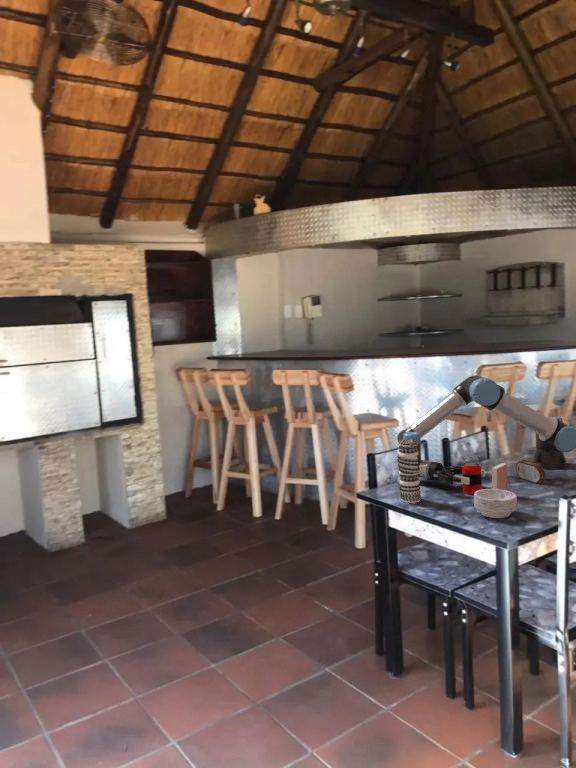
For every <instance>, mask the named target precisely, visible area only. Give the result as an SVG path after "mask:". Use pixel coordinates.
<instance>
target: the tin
mask: <svg viewBox="0 0 576 768" xmlns="http://www.w3.org/2000/svg"><path fill="white" fill-rule="evenodd" d="M515 471H516V474H517V476H518V477H519V478H520V479H522V480H524V481H527V482H530V483H533V484H539V483H540V484H541V483H542V482H544V481H545V479H546V473H545V469H543V468H542V467H541V466H540V465H539V464H537V463H533V462H532V461H530V460H526V459H523V460H520V461H518V462H517V463H516V465H515Z"/></svg>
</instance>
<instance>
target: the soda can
mask: <svg viewBox="0 0 576 768" xmlns="http://www.w3.org/2000/svg"><path fill="white" fill-rule="evenodd" d="M462 466H463V467H462V473H463V474H462V477H468V478H469V485H468V484H462V491H463V493H464V494H465V495H470V496H474V493H475V492H476V491H478V490H482V489H483V488H482V487H483V485H482V483H483V481H482V480H483V478H482V476H481V470H482V467H481V465H479V463H477V462H466V463H464V465H462Z"/></svg>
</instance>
